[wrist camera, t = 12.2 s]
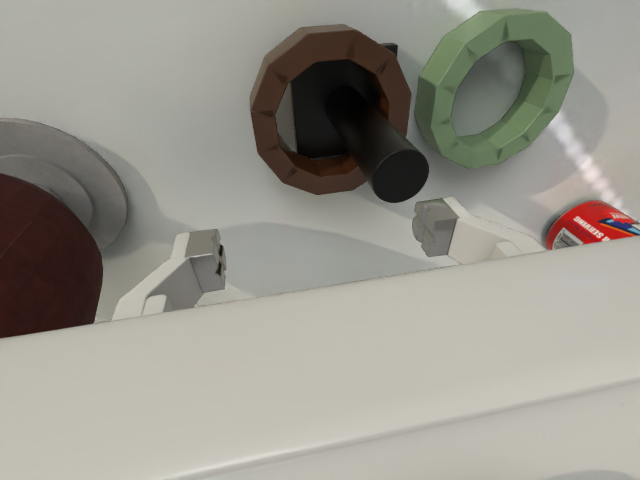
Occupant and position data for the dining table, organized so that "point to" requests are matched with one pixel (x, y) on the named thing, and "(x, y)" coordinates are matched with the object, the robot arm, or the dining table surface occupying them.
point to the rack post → (354, 128)
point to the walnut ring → (292, 62)
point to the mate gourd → (53, 227)
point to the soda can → (590, 226)
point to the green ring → (534, 98)
